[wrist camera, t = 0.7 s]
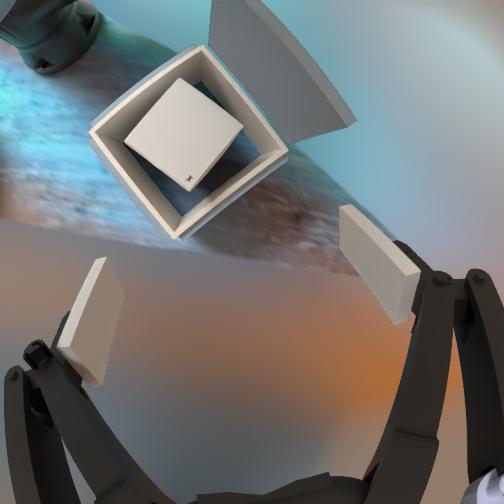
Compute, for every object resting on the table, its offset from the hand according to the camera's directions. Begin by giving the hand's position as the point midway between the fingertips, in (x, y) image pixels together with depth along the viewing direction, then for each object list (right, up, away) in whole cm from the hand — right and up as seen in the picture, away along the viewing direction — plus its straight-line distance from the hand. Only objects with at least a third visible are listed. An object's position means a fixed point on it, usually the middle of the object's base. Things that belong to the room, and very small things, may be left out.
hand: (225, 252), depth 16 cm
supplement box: (-8, +16, +25) cm, 30 cm away
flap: (+1, +18, +13) cm, 22 cm away
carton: (-8, +15, +25) cm, 30 cm away
